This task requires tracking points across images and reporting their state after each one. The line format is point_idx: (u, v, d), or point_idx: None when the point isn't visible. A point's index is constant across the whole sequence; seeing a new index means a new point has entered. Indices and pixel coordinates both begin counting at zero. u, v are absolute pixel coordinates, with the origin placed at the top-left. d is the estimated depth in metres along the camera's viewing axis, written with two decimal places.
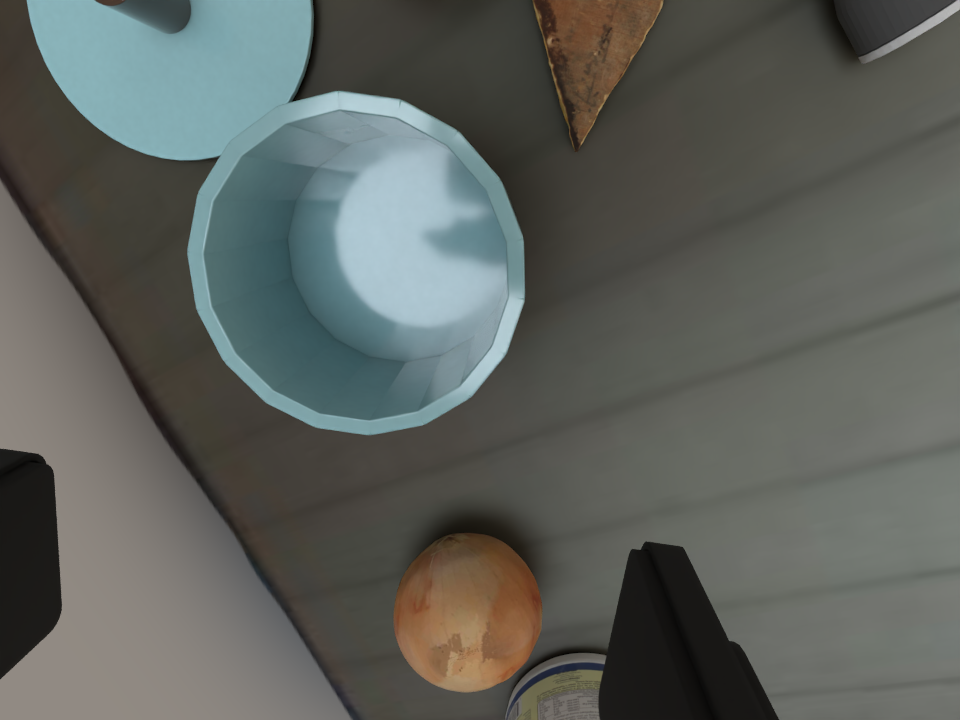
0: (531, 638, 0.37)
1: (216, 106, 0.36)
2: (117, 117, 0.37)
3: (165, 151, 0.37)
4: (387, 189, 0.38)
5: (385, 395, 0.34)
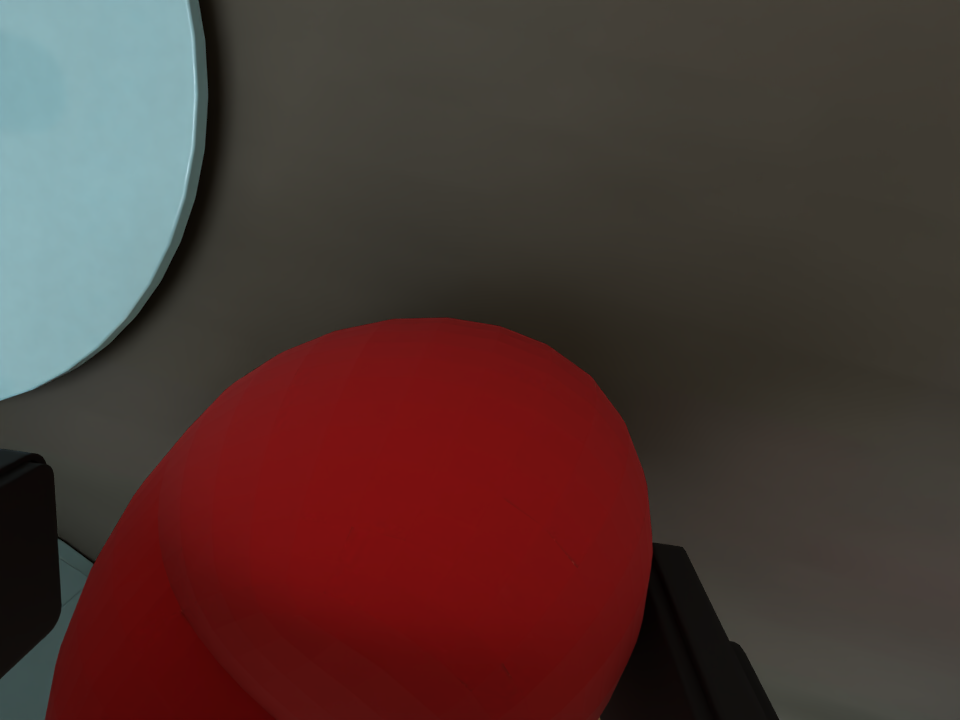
0: None
1: None
2: None
3: None
4: None
5: None
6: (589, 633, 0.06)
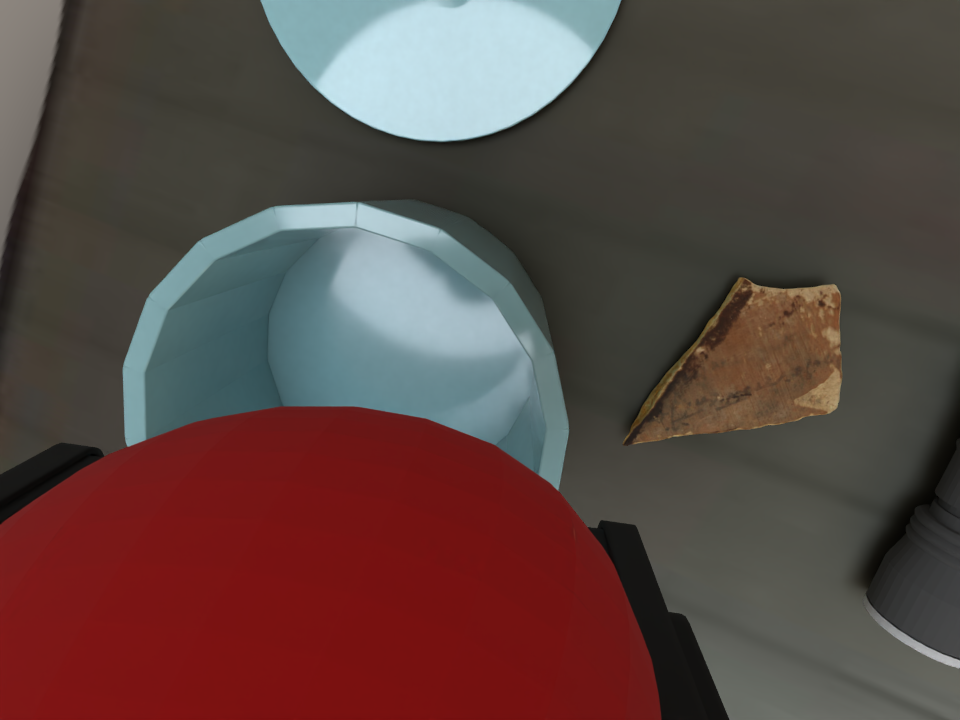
0: None
1: (383, 67, 0.28)
2: None
3: (291, 43, 0.28)
4: (449, 299, 0.31)
5: None
6: None
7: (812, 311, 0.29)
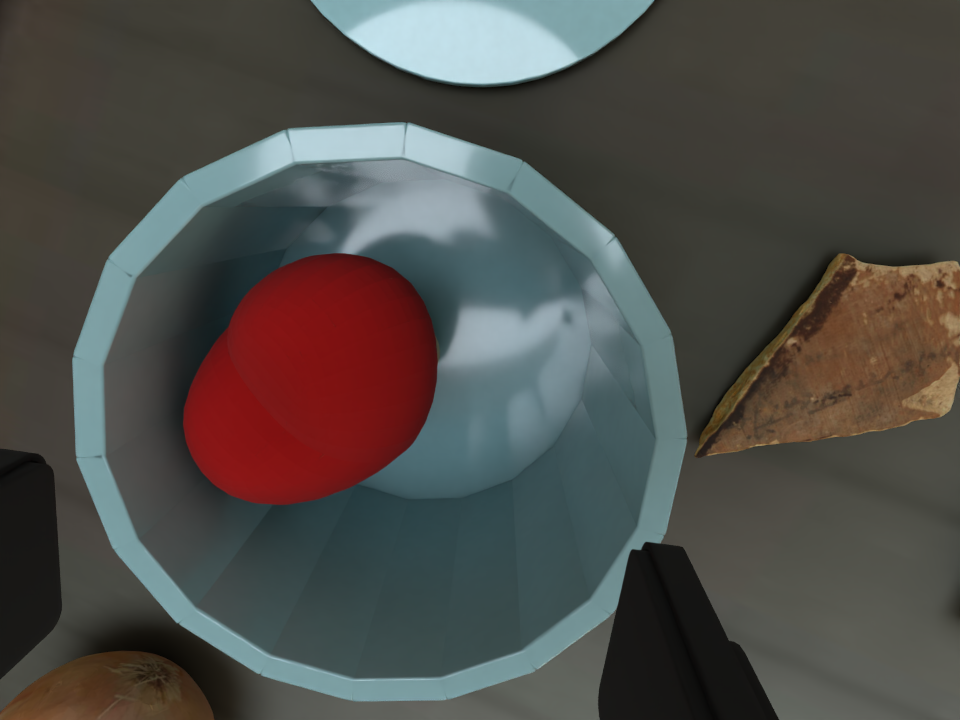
0: None
1: None
2: None
3: None
4: (487, 281, 0.25)
5: (251, 536, 0.21)
6: (338, 352, 0.16)
7: (929, 293, 0.24)
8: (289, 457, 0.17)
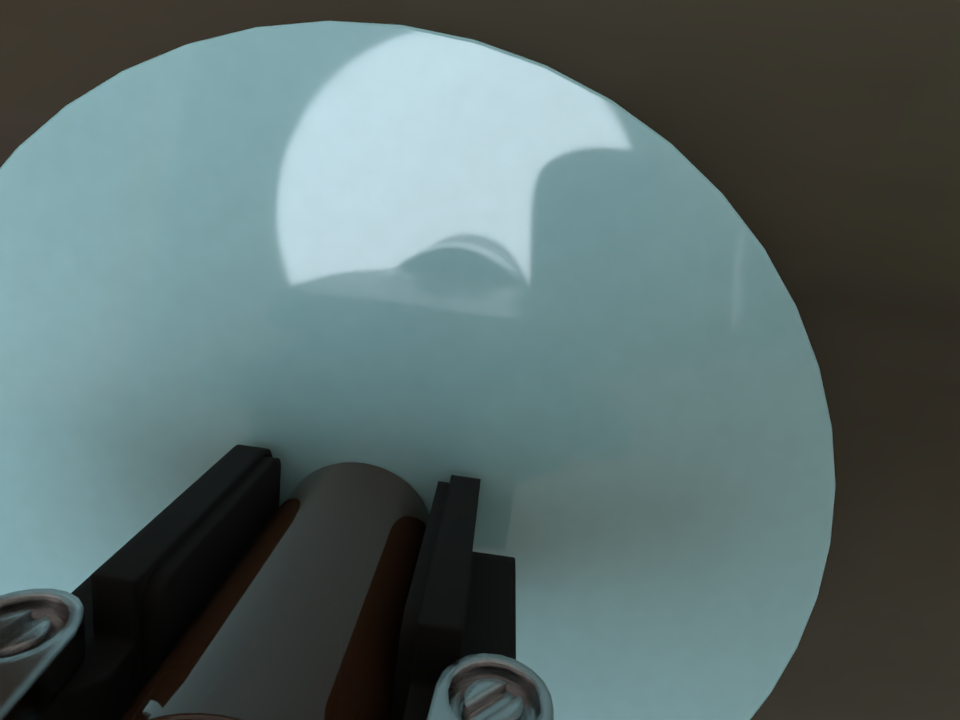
0: None
1: None
2: None
3: None
4: None
5: None
6: None
7: None
8: None
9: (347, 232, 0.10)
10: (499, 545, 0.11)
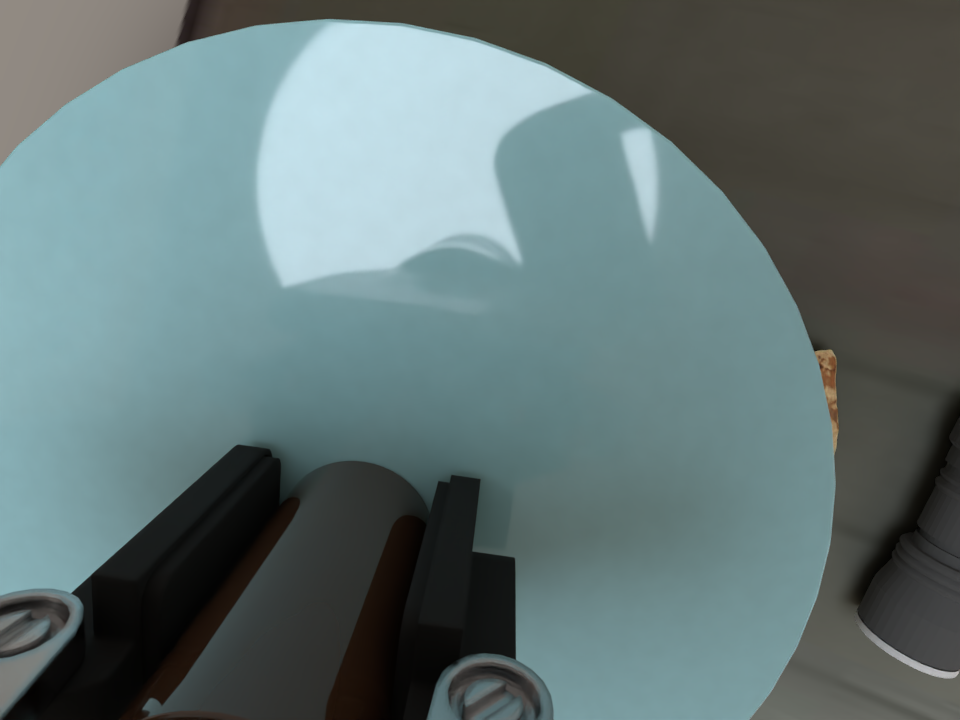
0: None
1: None
2: None
3: None
4: None
5: None
6: None
7: None
8: None
9: (347, 230, 0.10)
10: (499, 544, 0.11)
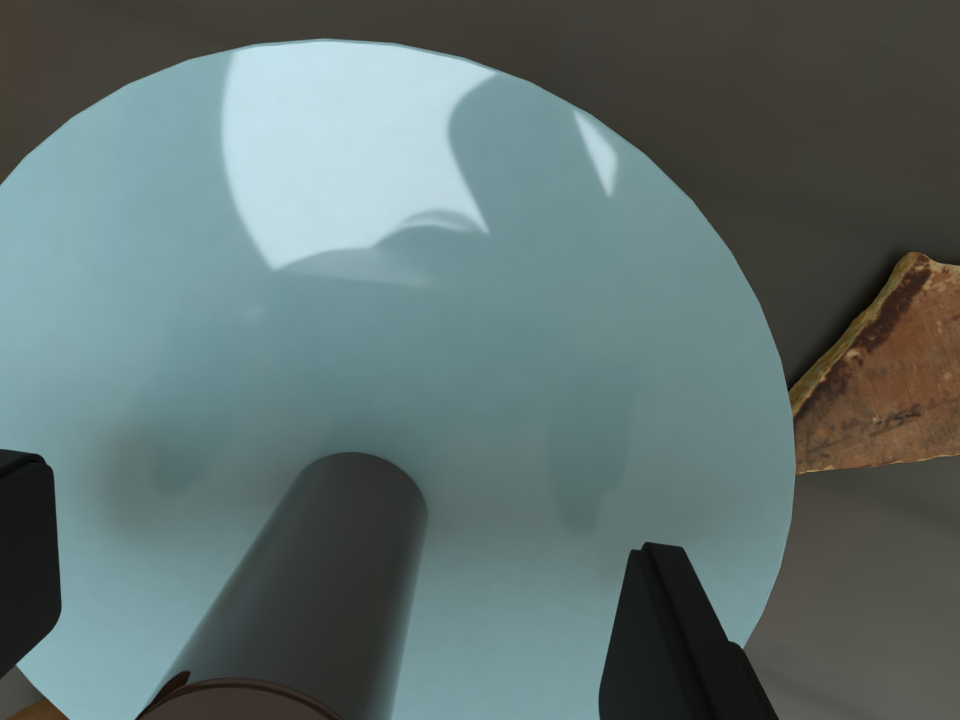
0: None
1: None
2: None
3: (53, 684, 0.13)
4: None
5: None
6: None
7: None
8: None
9: (344, 237, 0.10)
10: (489, 527, 0.12)
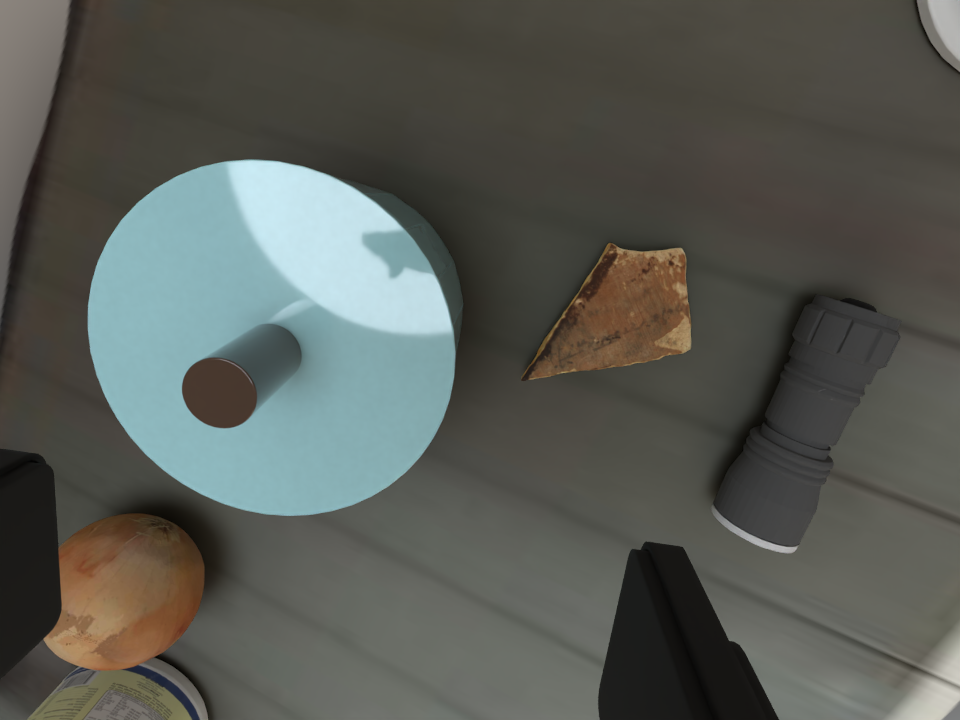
0: (148, 658, 0.38)
1: (228, 456, 0.29)
2: (121, 369, 0.28)
3: (139, 435, 0.29)
4: None
5: None
6: None
7: (664, 269, 0.36)
8: None
9: (261, 233, 0.26)
10: (328, 357, 0.28)
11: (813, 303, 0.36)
